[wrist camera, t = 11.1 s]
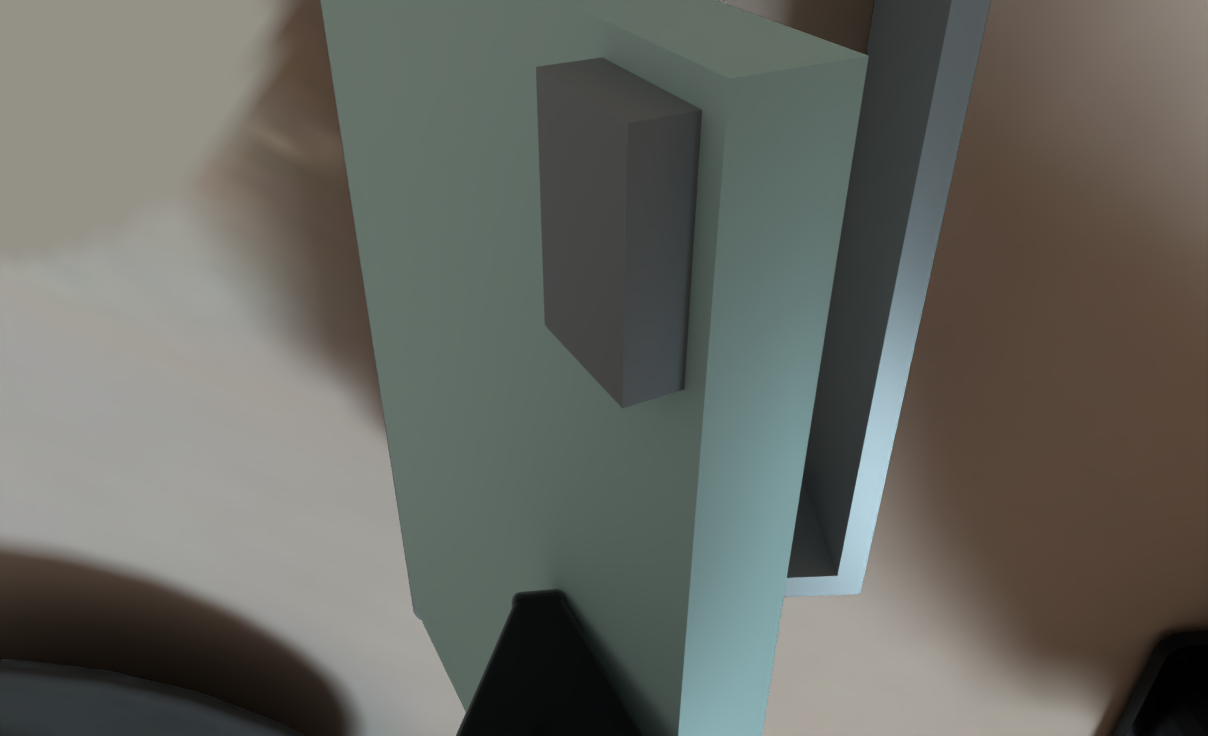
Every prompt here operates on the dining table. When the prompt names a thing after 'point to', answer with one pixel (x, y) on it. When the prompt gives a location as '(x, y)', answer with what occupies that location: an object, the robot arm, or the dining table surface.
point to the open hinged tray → (881, 277)
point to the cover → (599, 319)
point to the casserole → (114, 706)
